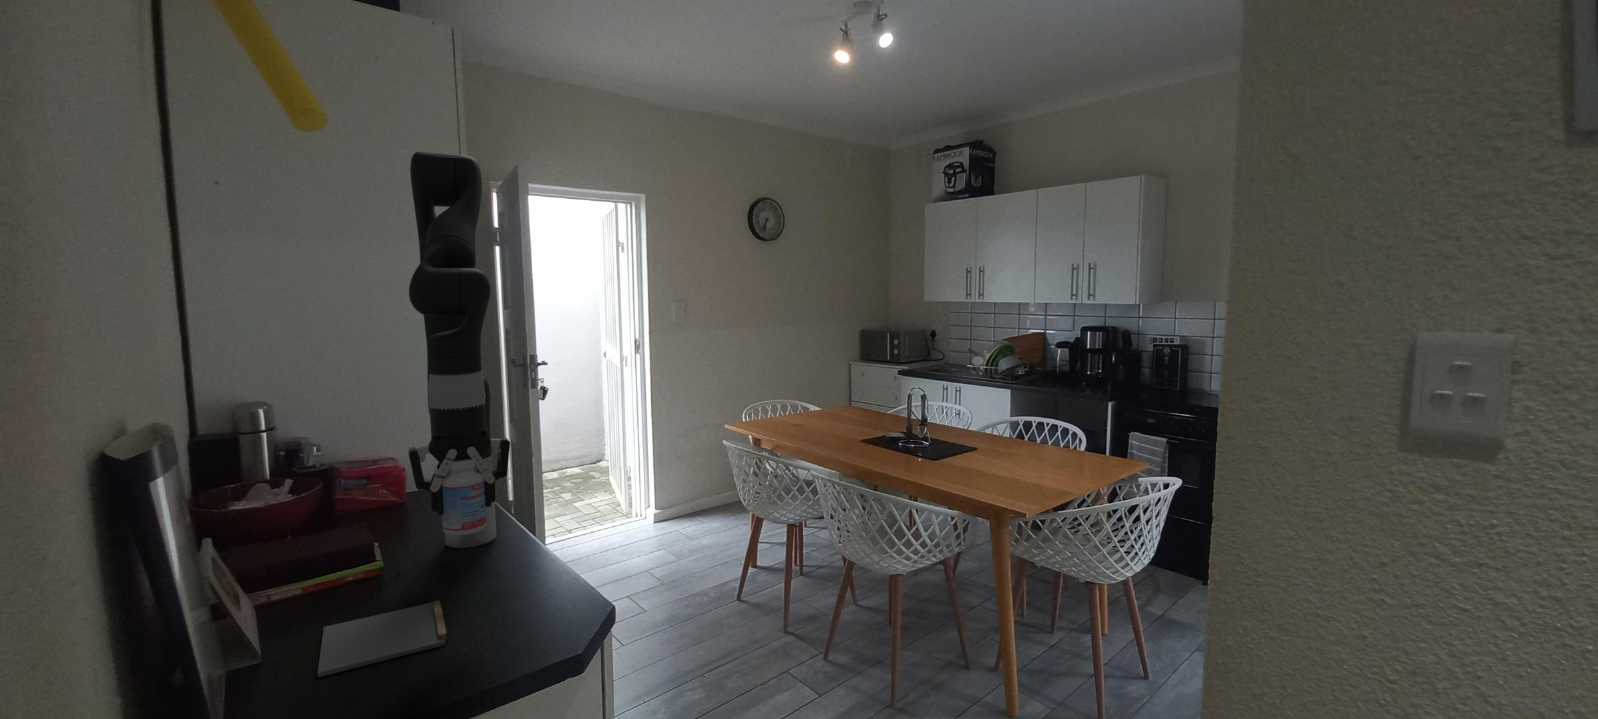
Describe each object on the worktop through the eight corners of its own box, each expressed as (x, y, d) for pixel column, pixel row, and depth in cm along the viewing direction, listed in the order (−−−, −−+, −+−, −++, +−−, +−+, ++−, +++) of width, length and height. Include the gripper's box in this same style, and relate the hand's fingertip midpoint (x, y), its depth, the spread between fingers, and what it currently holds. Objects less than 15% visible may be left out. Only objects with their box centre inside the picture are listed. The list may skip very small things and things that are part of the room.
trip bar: (433, 608, 107) (432, 601, 107) (440, 607, 108) (439, 599, 107) (439, 643, 97) (438, 635, 97) (447, 641, 97) (446, 633, 97)
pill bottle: (469, 538, 99) (465, 464, 98) (433, 535, 100) (428, 462, 99) (495, 523, 105) (491, 454, 104) (461, 520, 106) (457, 451, 105)
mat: (324, 630, 100) (323, 626, 100) (437, 604, 108) (437, 601, 108) (317, 677, 88) (317, 673, 88) (445, 644, 96) (445, 640, 96)
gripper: (505, 393, 107) (510, 495, 109) (401, 402, 100) (408, 511, 102) (513, 401, 101) (518, 508, 103) (403, 411, 93) (411, 526, 95)
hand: (464, 509), depth 102 cm, fingers closed on pill bottle, 6 cm apart
